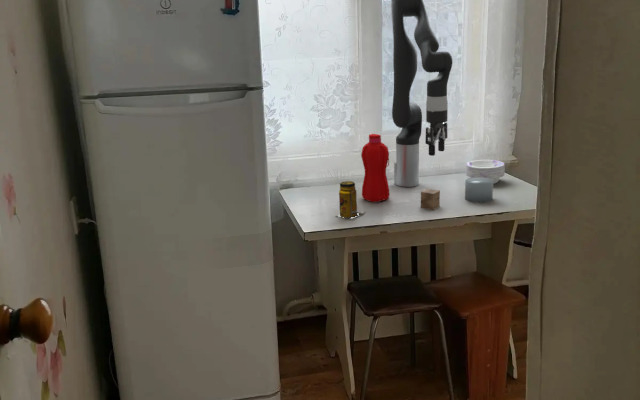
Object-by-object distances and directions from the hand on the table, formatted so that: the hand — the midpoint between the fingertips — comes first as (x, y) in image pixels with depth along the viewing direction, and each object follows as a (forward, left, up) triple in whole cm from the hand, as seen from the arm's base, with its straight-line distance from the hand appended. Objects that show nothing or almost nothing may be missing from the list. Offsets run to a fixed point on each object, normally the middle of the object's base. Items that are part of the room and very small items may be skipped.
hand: (436, 153), depth 221 cm
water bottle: (-20, -9, -18) cm, 28 cm away
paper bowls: (+6, +33, -18) cm, 38 cm away
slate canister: (+13, +9, -18) cm, 24 cm away
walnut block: (+2, -9, -18) cm, 20 cm away
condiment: (-18, -31, -18) cm, 40 cm away
